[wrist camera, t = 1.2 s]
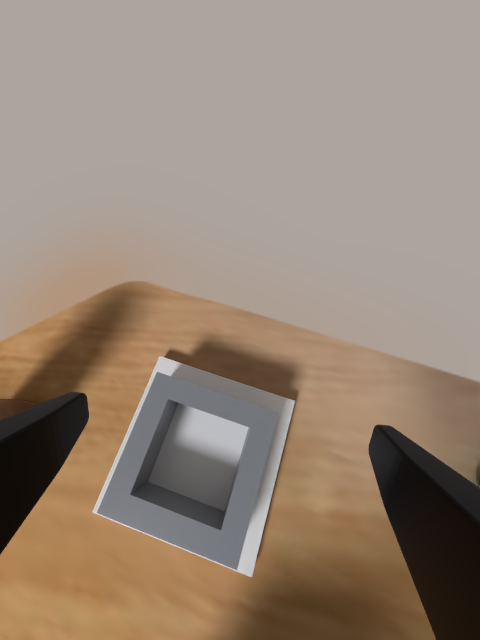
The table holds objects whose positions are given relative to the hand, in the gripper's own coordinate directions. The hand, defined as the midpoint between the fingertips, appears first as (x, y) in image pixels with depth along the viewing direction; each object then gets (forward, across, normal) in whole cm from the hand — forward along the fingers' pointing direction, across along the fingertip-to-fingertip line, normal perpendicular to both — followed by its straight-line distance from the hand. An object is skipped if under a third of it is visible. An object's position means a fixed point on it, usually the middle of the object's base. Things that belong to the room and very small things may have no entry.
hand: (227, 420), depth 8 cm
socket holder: (+10, +2, +12) cm, 15 cm away
